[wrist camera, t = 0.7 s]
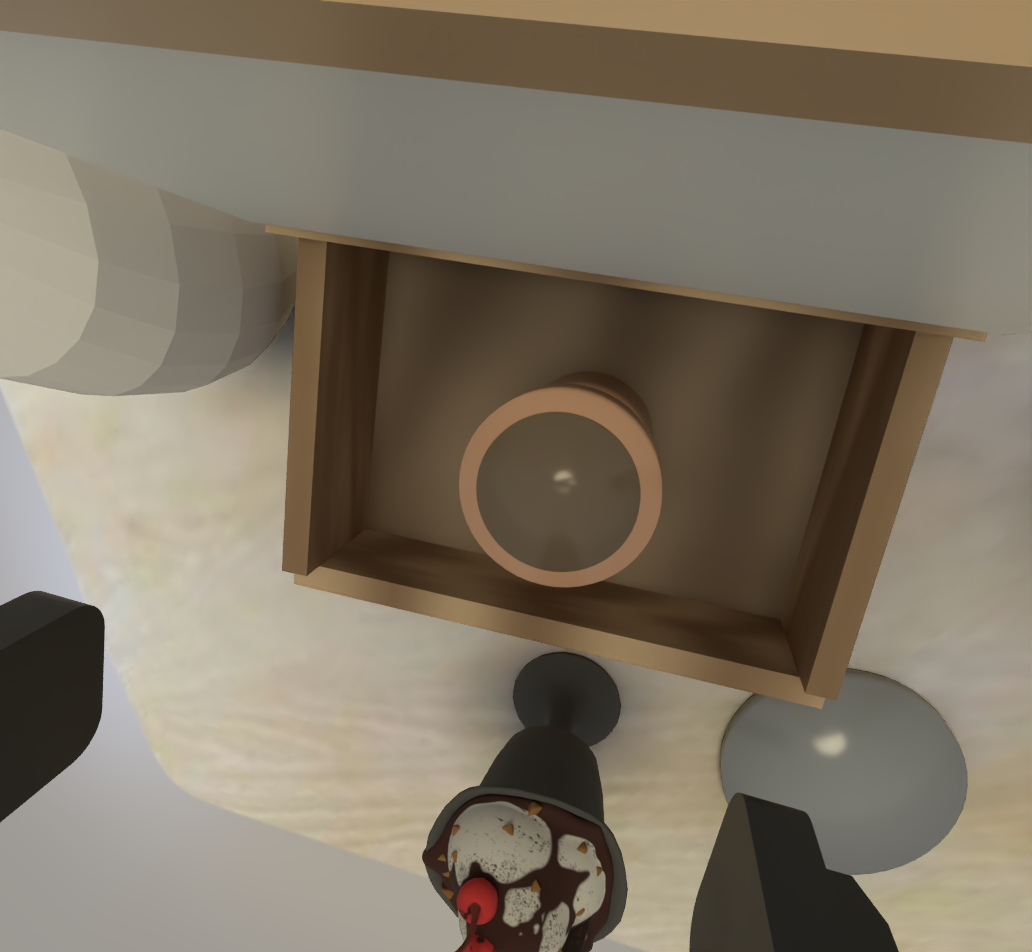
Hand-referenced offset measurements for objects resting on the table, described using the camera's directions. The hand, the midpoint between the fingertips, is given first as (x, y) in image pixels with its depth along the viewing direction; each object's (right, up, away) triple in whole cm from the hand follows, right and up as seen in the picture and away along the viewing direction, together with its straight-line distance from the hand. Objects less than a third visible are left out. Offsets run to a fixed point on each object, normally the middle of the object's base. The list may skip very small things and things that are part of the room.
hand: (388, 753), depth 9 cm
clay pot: (+4, +5, +19) cm, 21 cm away
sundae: (+4, -7, +24) cm, 25 cm away
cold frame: (+5, +5, +20) cm, 21 cm away
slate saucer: (+15, -9, +22) cm, 28 cm away
